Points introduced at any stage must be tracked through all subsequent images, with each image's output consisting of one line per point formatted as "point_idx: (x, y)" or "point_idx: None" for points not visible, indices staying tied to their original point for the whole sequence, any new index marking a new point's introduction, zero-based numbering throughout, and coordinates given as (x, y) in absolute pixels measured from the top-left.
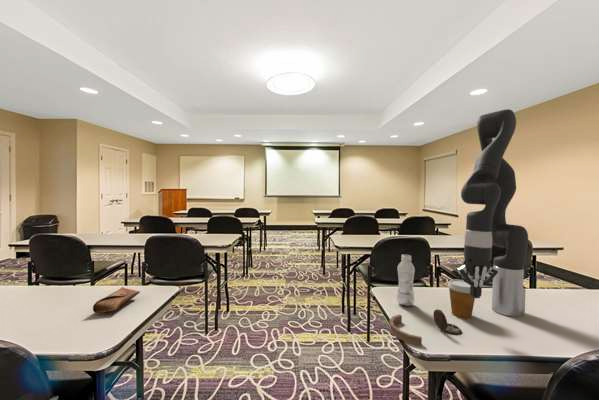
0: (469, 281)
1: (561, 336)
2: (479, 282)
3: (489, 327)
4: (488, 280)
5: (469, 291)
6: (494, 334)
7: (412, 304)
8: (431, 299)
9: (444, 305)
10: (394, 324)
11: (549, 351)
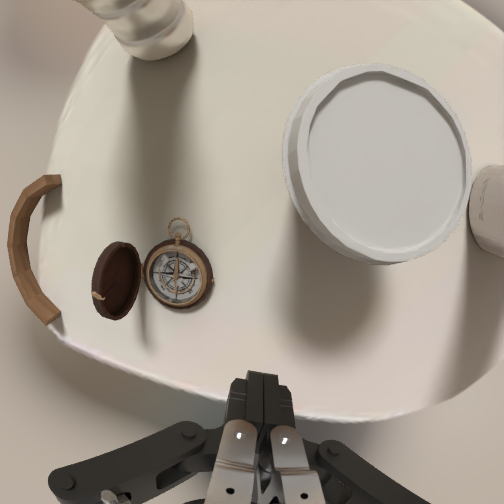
0: (170, 473)
1: (462, 357)
2: (258, 481)
3: (348, 286)
4: (327, 496)
5: (353, 259)
6: (315, 328)
7: (171, 54)
8: (321, 15)
9: None
10: (36, 201)
11: (361, 408)
